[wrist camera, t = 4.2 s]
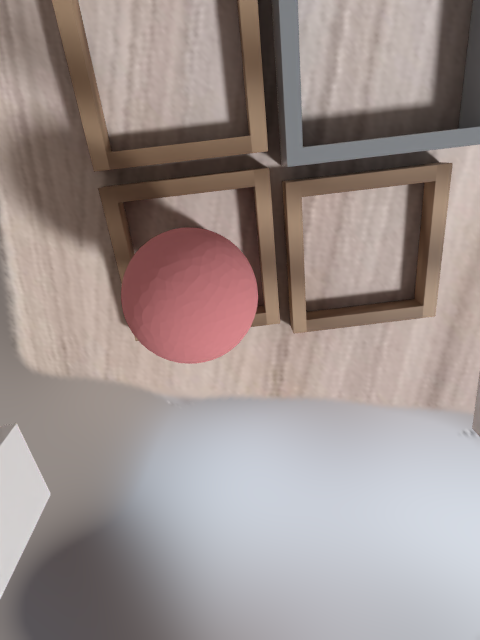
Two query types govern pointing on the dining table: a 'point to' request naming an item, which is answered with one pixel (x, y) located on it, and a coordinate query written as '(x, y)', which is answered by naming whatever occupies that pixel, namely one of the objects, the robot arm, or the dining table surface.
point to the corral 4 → (428, 253)
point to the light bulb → (189, 295)
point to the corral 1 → (108, 160)
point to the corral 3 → (474, 128)
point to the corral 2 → (253, 178)
